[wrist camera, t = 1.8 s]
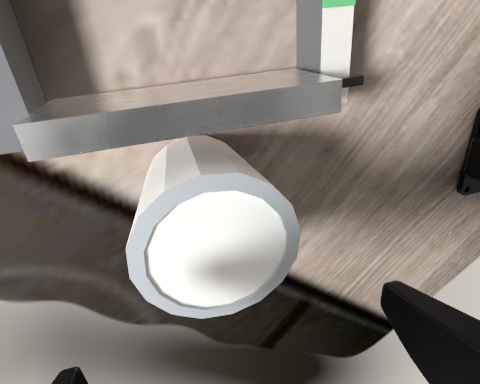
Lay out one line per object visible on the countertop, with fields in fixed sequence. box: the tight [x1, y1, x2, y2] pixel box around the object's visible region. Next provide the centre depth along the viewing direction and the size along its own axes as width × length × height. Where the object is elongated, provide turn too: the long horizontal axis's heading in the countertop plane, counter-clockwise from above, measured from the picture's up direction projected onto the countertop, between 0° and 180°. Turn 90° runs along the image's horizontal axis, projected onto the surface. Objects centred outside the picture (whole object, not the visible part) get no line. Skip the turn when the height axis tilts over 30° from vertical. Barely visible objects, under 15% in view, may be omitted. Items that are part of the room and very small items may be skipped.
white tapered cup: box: [126, 135, 301, 319], centre depth 15 cm, size 7×7×7 cm
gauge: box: [0, 0, 356, 154], centre depth 12 cm, size 16×10×5 cm, turn 95°
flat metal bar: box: [13, 68, 364, 162], centre depth 13 cm, size 13×1×4 cm, turn 95°
